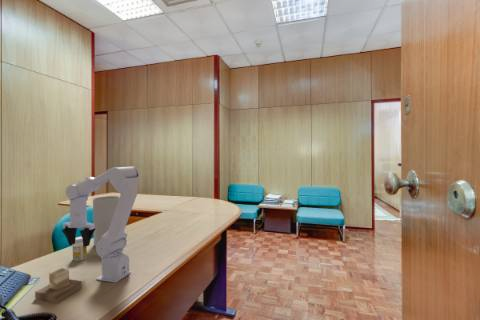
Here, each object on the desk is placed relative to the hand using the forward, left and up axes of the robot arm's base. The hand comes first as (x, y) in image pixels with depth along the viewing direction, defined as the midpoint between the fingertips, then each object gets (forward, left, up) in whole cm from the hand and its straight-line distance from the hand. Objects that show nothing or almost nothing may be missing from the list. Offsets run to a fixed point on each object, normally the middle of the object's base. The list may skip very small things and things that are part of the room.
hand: (79, 245), depth 97 cm
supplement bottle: (+10, -9, -11) cm, 17 cm away
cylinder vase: (+13, -28, -11) cm, 33 cm away
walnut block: (-9, +15, -11) cm, 20 cm away
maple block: (-9, +15, -8) cm, 19 cm away
